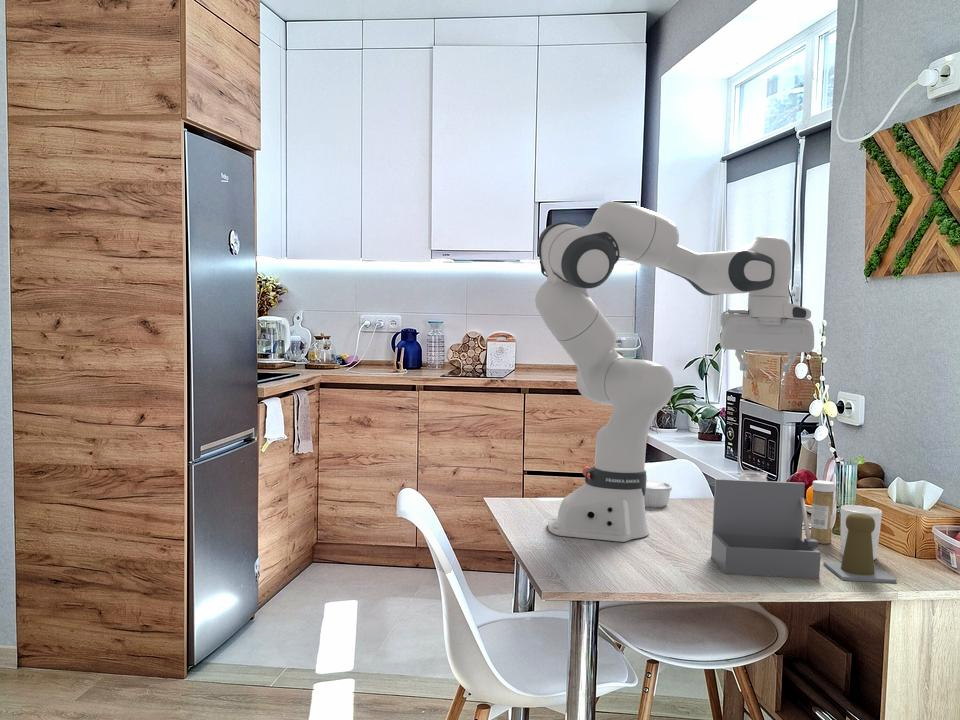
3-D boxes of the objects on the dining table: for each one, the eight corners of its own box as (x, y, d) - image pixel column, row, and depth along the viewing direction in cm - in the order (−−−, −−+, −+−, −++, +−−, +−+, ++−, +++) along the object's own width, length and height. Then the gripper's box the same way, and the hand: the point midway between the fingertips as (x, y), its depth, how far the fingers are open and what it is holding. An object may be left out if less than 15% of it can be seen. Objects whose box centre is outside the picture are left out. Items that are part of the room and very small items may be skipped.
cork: (872, 577, 160) (876, 519, 159) (838, 571, 163) (841, 514, 162) (876, 569, 165) (879, 513, 164) (842, 564, 168) (846, 509, 167)
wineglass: (743, 525, 200) (746, 475, 200) (731, 518, 207) (733, 470, 207) (770, 525, 201) (773, 475, 201) (757, 518, 208) (759, 470, 208)
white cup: (863, 551, 181) (866, 504, 181) (887, 561, 173) (890, 513, 173) (830, 551, 180) (832, 504, 179) (852, 562, 172) (855, 513, 172)
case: (724, 573, 160) (729, 490, 160) (711, 556, 172) (715, 478, 171) (822, 578, 160) (827, 494, 159) (802, 561, 171) (806, 482, 170)
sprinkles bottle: (835, 542, 187) (839, 482, 187) (823, 545, 185) (826, 484, 184) (817, 538, 191) (820, 479, 190) (804, 540, 188) (808, 480, 188)
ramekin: (675, 509, 216) (676, 489, 216) (631, 508, 216) (632, 487, 215) (665, 500, 227) (666, 480, 227) (623, 498, 227) (624, 479, 227)
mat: (842, 580, 159) (842, 576, 159) (823, 564, 169) (823, 561, 169) (896, 582, 159) (896, 579, 159) (874, 567, 169) (874, 564, 169)
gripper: (724, 308, 187) (721, 370, 188) (818, 311, 186) (815, 374, 187) (718, 308, 194) (715, 368, 194) (808, 311, 193) (805, 372, 193)
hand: (765, 371), depth 191 cm, fingers open, 8 cm apart
